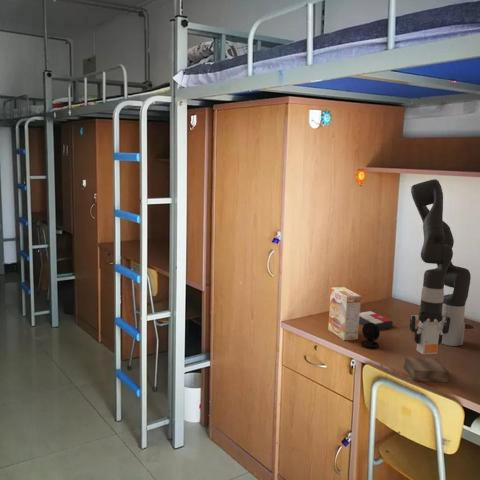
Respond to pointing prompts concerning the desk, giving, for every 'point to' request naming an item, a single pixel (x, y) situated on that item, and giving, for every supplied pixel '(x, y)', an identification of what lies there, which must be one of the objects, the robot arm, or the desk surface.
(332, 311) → the coffeecake box
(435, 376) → the walnut base
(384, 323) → the red and white box
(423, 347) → the skincare box
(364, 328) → the webcam
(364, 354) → the desk surface
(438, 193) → the robot arm
